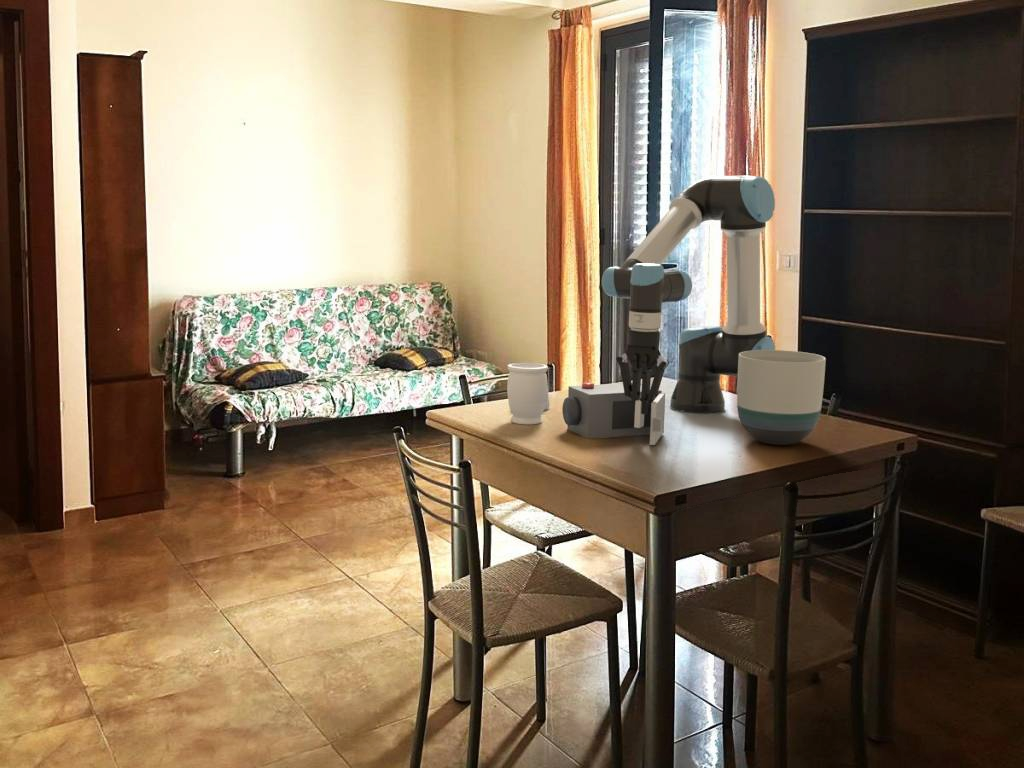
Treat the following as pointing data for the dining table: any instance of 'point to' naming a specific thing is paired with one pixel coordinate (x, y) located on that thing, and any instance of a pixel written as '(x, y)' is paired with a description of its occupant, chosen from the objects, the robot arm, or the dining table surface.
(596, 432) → the camera body
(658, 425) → the door
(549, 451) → the dining table surface
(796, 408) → the planter
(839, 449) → the dining table surface
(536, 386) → the jar
